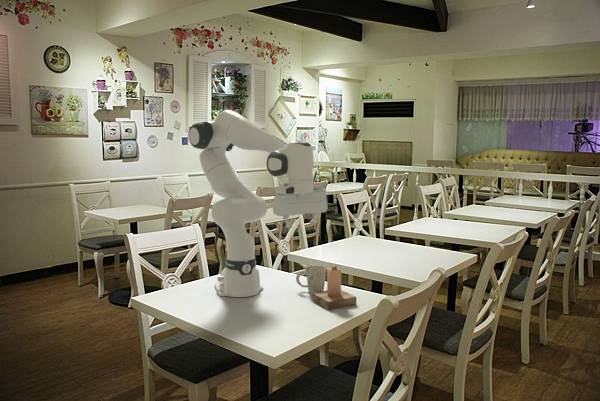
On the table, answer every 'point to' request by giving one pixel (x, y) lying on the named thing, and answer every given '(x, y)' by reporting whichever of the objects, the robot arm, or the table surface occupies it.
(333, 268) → the canister
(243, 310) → the table surface
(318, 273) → the mug
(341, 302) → the pedestal
